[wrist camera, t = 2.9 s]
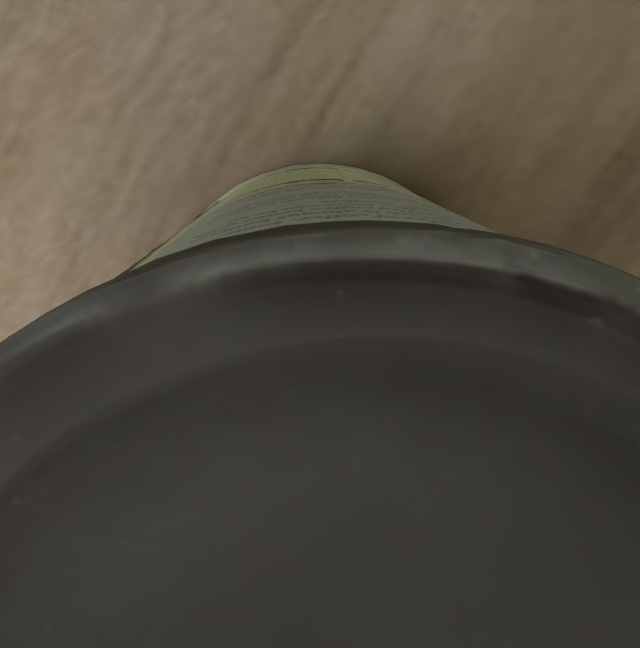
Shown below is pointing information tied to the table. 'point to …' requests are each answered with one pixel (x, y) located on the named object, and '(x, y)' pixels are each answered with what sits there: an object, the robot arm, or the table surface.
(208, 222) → the coffee can
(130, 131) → the table surface
